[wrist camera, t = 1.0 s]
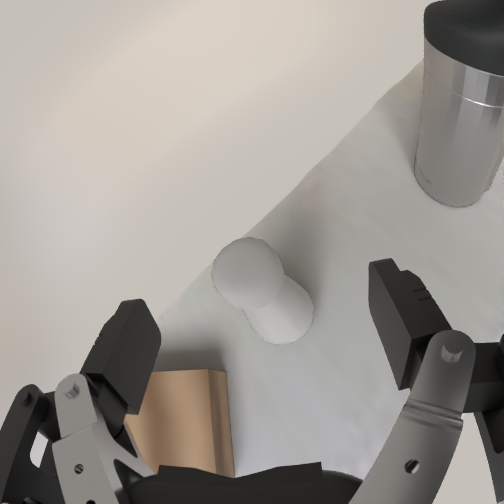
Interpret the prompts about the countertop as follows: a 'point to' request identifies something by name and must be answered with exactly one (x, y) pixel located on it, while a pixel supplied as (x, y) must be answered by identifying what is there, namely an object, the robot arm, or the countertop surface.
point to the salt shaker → (262, 290)
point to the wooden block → (185, 421)
